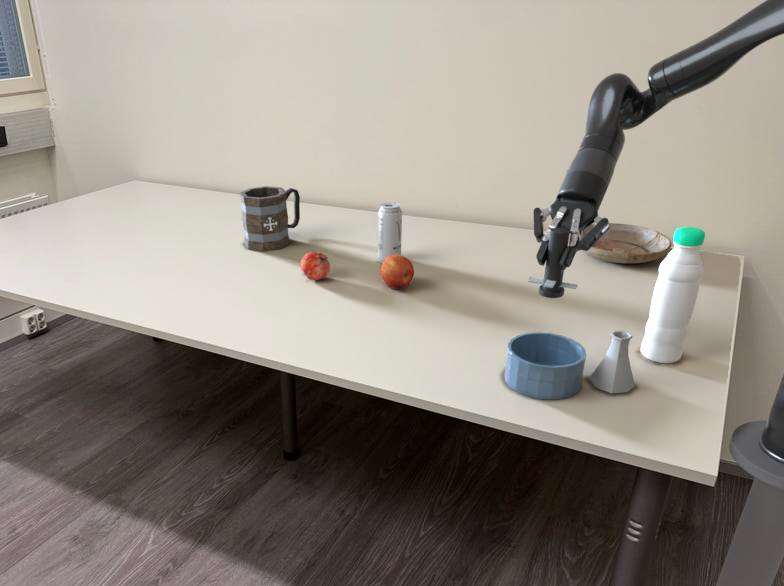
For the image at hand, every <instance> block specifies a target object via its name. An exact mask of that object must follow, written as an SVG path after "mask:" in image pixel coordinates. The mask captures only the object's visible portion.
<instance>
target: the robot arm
mask: <svg viewBox="0 0 784 586" xmlns="http://www.w3.org/2000/svg"><path fill="white" fill-rule="evenodd" d="M782 35H784V0H764V1H763V2H762V3H760V4H758V5H757V6H755V7H754V8H752V9H750V10H749V11H748V12H746V13H744V14H743V15H741V16H740V17H738V18H737V19H735V20H734V21H732V22H731V23H730V24H728V25H726V26H724V27H723V28H721V29H720V30H718V31H717V32H715V33H712V34H711V35H709V36H707V37H706V38H704V39H702V40H700V41H699V42H696V43H695V44H692V45H691V46H689V47H687V48H684V49H682V50H680V51H678V52H675V53H674V54H672V55H670V56H668V57H666V58H664V59H662V60H660V61H658V62H657V63H655V64H653V65H652V66H651V67H650V68H649V69H648V72H647V84H648V88H647V89H646V90H643V91H641V90H640V89H639V87H638V86H637V85H636V84H635V83H634V81H633V80H632V78H630V76H628V75H627V74H625V73H622V72H614V73H611V74H609V75H607V76H606V77H604V78H603V79H602V80H601V81H600V82H599V83H598V84H597V85H596V86H595V88H594V90H593V92H592V94H591V97H590V99H589V104H588V109H587V116H586V122H585V132H584V133H585V134H584V136H583V138H582V141H581V142H580V146H579V147H578V150H577V153H576V154H575V156H574V157H573V159H572V161H571V162H570V165H569V166H568V169H566V173H565V176H564V179H563V181H562V183H561V186H560V188H559V190H558V193H557V195H556V198H555V200H554V202H553V203H552V204H551V205H550V206H549V207H548V208H542V209H541V208H540V207H535V208H534V209H533V235H534V237H535V239H536V242H537V243H540V246H539V248H538V250H537V252H536V254H535V255H536V257H535V258H536V261H537V263H538V264H539V266H543V267H544V266H545V265H546V259H547V252H548V245H549V237H550V230H551V229H552V228H566V229H569V230H570V234H569V241H568V246H566V249H565V251H564V253H563V256H562V258H561V260H560V263H559V267H560V269H562V270H564V271H565V270H566V269H567V268H570V267H571V266H572V263H573V261H574V259H575V256H576V254H577V252H580V251H582V250H584V251H588V250H589V249H590V248H591V247H592V246H593V245H594V244H595V243H596V242H597V241H598V240H599V239H600V238H601V237H602V236H603V235H604V234H605V233H606V232H607V231H608V230H609V229H610V226H609V223H610V222H609V219H608V218H607V217H603V218H602V217H601V216H600V215H599V210H600V207H601V205H602V202H603V200H604V198H605V195H606V193H607V192H608V189H609V186H610V184H611V181H612V179H613V176H614V173H615V169H616V166H617V163H618V161H619V159H620V156H621V153H622V151H623V148H624V146H625V142H626V135H625V132H624V131H627V130H631V129H635V128H636V127H639V126H640V125H641V124H643V123H644V122H646V121H647V120H648V119H649V118H651V117H652V116H654V115H655V114H656V113H658V112H659V111H660V110H662V109H663V108H664V107H666V106H667V105H669V104H670V103H671V102H673V101H675V100H677V99H679V98H682V97H684V96H686V95H689V94H691V93H693V92H696V91H698V90H700V89H702V88H704V87H706V86H708V85H711V84H712V83H713V82H715V81H717V80H718V79H719V78H721V77H722V76H724V75H725V74H726V73H727V72H729V71H730V69H732V68H733V67H734V66H735V65H736V64H737V63H739V62H740V61H741V60H742V58H744V57H745V56H747V55H748V54H749V53H751V52H752V51H754V50H755V49H756V48H757V47H759V46H761V45H762V44H764V43H766V42H768V41H770V40H772V39H775V38H776V37H779V36H782ZM549 216H550V218H551V222H550V223H549V225H548V226H547V230H546V231H545V233H544V223H545V222H546V221H547V219H548V217H549ZM591 224H593V228H592V230H591V231H590V232H589V233H588V234H587V235H586V236H585V237H584V238H583V239H582V240H581V236H582V230H584V229H585V228H587V227H588V226H590V225H591ZM766 421H767V423H766V426H765V428H764V430H763V434H762V435H761V438H760V440H759V445H760V447H761V449H762V450H763V451H764V453H766V454H767V455H768V456H769V457H771V458H772V459H774V460H776V461H778V462H780V463H782V464H784V374H783V375H782V378H781V381H780V384H779V386H778V388H777V392H776V395H775V398H774V400H773V403H772V406H771V408H770V412H769V414H768V417H767V420H766Z"/></svg>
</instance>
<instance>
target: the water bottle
mask: <svg viewBox="0 0 784 586" xmlns="http://www.w3.org/2000/svg"><path fill="white" fill-rule="evenodd" d="M705 238H706V232H705V231H704V230H702V229H701V228H697V227H693V226H682V227H678V228H676V229H675V231H674V234H673V237H672V244H673V248H672V250H671V249H670V250H669V251H668V253H667V254H666V257H664V259H663V260H662V261H661V262H660V264H659V266H658V276H657V279H656V282H655V285H654V289H653V292H652V293H653V294H652V297H651V303H650V307H649V314H648V315H649V316H648V319H647V321H646V324H645V328H644V330H645V331H644V336H643V338H642V342H641V346H640V353H641V355H642V356H643V357H644V358H645V359H647V360H649V361H652V362H654V363H659V364H672V363H676V362H678V361H680V360H681V359H682V356H683V352H684V347H685V341H686V339H687V336H688V333H689V324H690V321H691V319H692V315H693V313H694V309H695V305H696V303H697V298H698V294H699V290H700V284H701V283H700V282H701V280H702V278H703V275H704V271H705V270H704V266H703V265H704V264H703V262H702V257H701V254H700V253H699V252H700V251H699V249H700V248H701V247H702V246H703V244H704V242H705Z"/></svg>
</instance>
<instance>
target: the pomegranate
mask: <svg viewBox="0 0 784 586" xmlns="http://www.w3.org/2000/svg"><path fill="white" fill-rule="evenodd" d="M300 270H301V272H303V274H304V275H305V277H306V278H307V279H308V280H311V281H319V280H322V279H324V278H327V276H328V275H329V274H330V272H331V263H330V261H329V259H328V257H327V256H326V253H324V252H318V251H313V250H311V251H309V252H307V253H306V254H304V255H303V257H302V259H301V261H300Z"/></svg>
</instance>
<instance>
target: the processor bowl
mask: <svg viewBox="0 0 784 586" xmlns="http://www.w3.org/2000/svg"><path fill="white" fill-rule="evenodd" d="M506 348H507V349H506V356H505V365H504V376H503V377H504V381H505V383H506V385H508V386H509V388H510V389H512V390H513V391H514V392H517V393H519V394H522V395H523V396H526V397H530V398H534V399H539V400H560V399H566V398H569V397H571V396H573V395H575V394H577V392H578V391H579V390H580V388H581V384H582V381H583V376H584V375H583V374H584V371H585V364H586V359H587V352H586V349H585V347H584V346H583V345H582V344H581V343H579V342H578V341H576V340H574V339H572V338H571V337H568V336H565V335H562V334H557V333H552V332H542V331H541V332H540V331H539V332H538V331H536V332H525V333H522V334H518V335H515V336H514V337H513V338H511V339H510V340H509V341H508V343H507V347H506Z"/></svg>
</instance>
